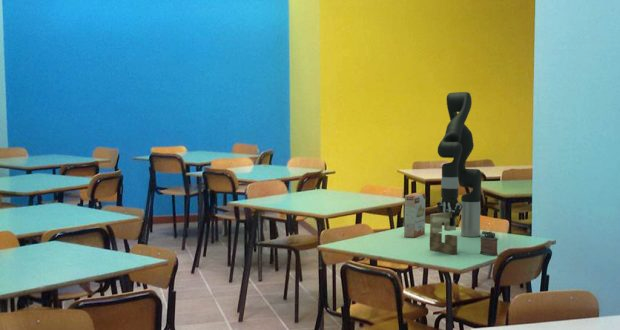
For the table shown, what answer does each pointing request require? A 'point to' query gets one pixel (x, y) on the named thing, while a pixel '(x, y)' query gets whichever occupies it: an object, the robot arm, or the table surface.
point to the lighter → (488, 244)
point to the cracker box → (414, 215)
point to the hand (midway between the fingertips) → (449, 225)
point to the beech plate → (441, 218)
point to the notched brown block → (439, 246)
